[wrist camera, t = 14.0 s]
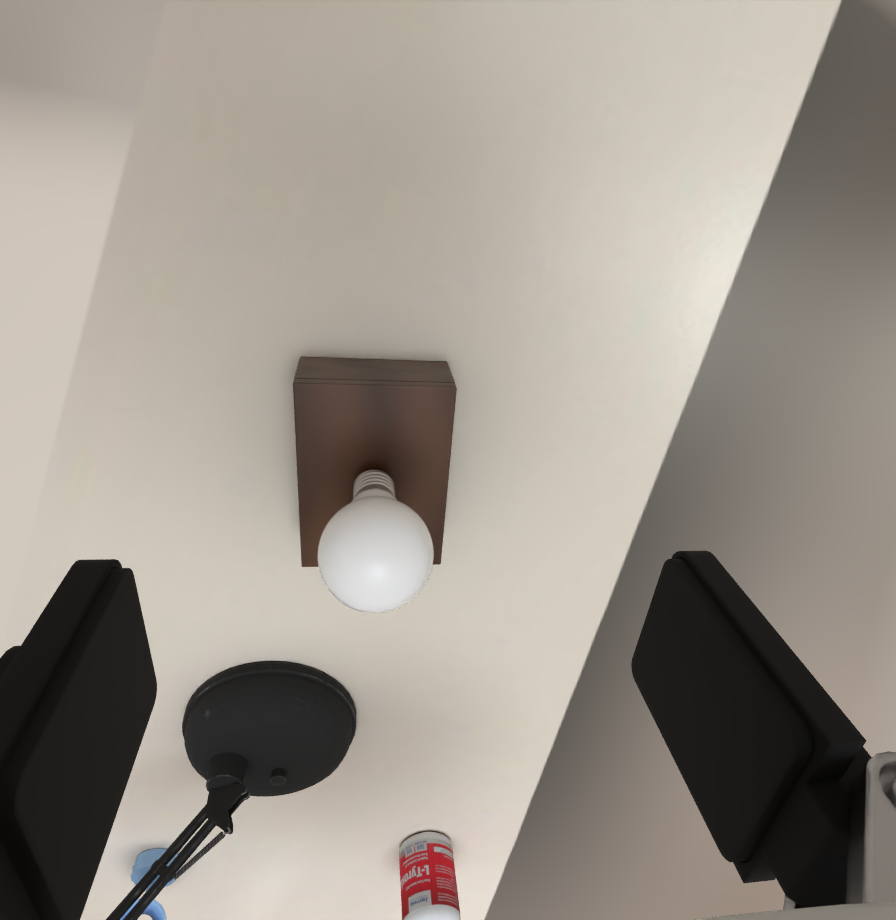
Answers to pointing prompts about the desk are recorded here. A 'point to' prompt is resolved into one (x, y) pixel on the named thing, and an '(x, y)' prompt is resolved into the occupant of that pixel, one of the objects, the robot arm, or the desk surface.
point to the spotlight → (138, 873)
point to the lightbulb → (375, 548)
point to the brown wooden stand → (371, 438)
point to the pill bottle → (428, 878)
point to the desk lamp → (252, 751)
